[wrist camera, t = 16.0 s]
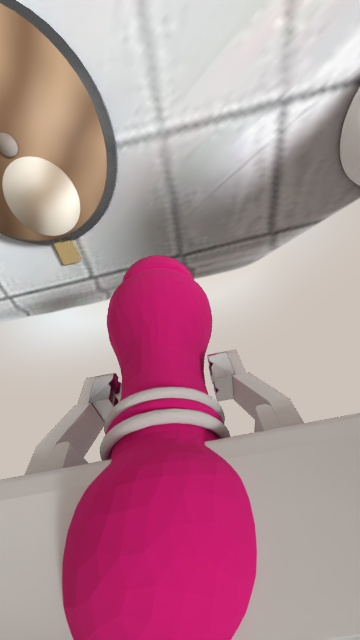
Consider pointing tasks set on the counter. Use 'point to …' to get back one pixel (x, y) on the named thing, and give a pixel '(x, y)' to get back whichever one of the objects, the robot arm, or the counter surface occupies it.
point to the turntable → (45, 138)
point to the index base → (66, 243)
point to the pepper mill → (160, 482)
